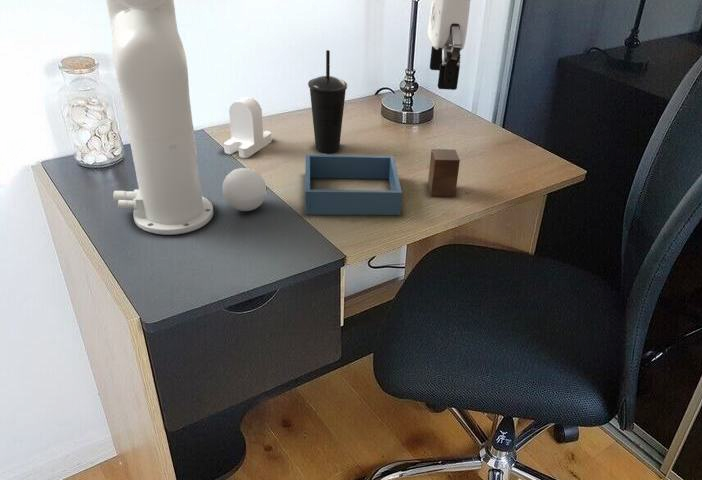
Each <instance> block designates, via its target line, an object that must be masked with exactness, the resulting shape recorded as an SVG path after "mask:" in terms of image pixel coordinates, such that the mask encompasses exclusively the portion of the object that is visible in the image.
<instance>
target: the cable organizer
mask: <svg viewBox="0 0 702 480" xmlns="http://www.w3.org/2000/svg"><path fill="white" fill-rule="evenodd" d="M228 115H229V127H230V137H231V138H229V139H228V140H225V141H224V143H223V148H224V154H227V155H232V154H234V153H235V152H238V157H239V158H243V159H248V158H250V157H251V156H252V155H254V154H255V153H258V151H260V150H261V149H263V148H265V147H266V146H268V145H269V144H270V143H272V132H271V131H268V130H264V125H263V111H262V108H261V105H260V103H259V101H257V99H255V98H254V97H250V96H243V97H241V98H240V99H238V100H236V101H234V102H232V103H231V105H230V106H229V109H228Z"/></svg>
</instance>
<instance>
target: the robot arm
mask: <svg viewBox="0 0 702 480" xmlns="http://www.w3.org/2000/svg"><path fill="white" fill-rule="evenodd" d="M105 1H106V6H107V12H108V17H109V22H110V28H111V35H112V41H111V43H112V57H113V58H112V59H113V65H114V70H115V75H116V76H115V77H116V80H117V84H118V89H119V93H120V99H121V104H122V108H123V113H124V119H125V125H126V129H127V134H128V139H129V144H130V150H131V154H132V160H133V165H134V172H135V176H136V177H135V178H136V181H137V187H138V189H137V188H135V189H133V191H129V190H128V191H127V190H114V191H113V201H114V203H117V208H118V209H133V211H132V212H133V213H132V215H133V220H134V223H135V225H136V226H137V227H138V228H140V229H141V230H143V231H146V232H148V233H151V234H156V235H166V236H167V235H171V236H172V235H180V234H181V235H182V234H187V233H190V232H193V231H196V230H199V229H201V228H202V227H204V226H205V225H207V224H208V223H209V222H210V221H211V220H212V218H213V216H214V207H213V204H212V201H210V200H209V199H207V198H206V197H204V196H203V194H202V186H201V179H200V169H199V163H198V153H197V145H196V137H195V130H194V129H195V128H194V123H193V113H192V105H191V97H190V96H191V95H190V84H189V70H188V62H187V61H188V60H187V56H186V51H185V48H184V45H183V42H182V39H181V36H180V34H179V28H178V24H177V16H176V15H177V14H176V8H175V0H105ZM430 7H431V8H430V13H429V21H428V27H427V37H428V39H429V42H430V43H431V52H430V59H429V60H430V61H429V69H430V70H431V71H438V80H437V88H438V89H439V90H450V91H455V90H457V89H458V83H459V75H460V70H461V69H460V68H461V51H462V50H463V49H464V48H465V44H466V39H467V32H468V25H469V18H470V17H469V16H470V8H471V0H431V6H430Z"/></svg>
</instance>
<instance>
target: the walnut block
mask: <svg viewBox="0 0 702 480" xmlns="http://www.w3.org/2000/svg"><path fill="white" fill-rule="evenodd" d="M460 163H461V160H460V157H459V155H458V152H457V150H456V149H447V148H446V149H445V148H443V149H442V148H438V149H437V148H431V149H430V158H429V168H428V170H429V171H428V177H427V178H428V179H427V187H428V190H429V191H428V192H429V194H430V196H431V197H456V193H457V185H458V179H459V171H460V170H459V169H460Z"/></svg>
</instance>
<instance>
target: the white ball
mask: <svg viewBox="0 0 702 480" xmlns="http://www.w3.org/2000/svg"><path fill="white" fill-rule="evenodd" d="M266 184H267V183H266V181H265V180H264V178H263V177H262V175H261V174H260V173H259V172H257V171H256V170H254V169H252V168H248V167H240V168H235V169H233V170H232V171H230V172H229V173H228V174H227V173H226V176H225V178H224V180H223V183H222V187H221V192H222V195H223V198H224V201H225V202H227V204H228V205H229V206H230V207H231V208H232V209H235V210H237V211H240V212H250V211H253V210H256V209H258V208H259V207H260V206H261V205H262V204H263V202H264V201H265V199H266V195H267V191H268V187H267V185H266Z"/></svg>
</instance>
